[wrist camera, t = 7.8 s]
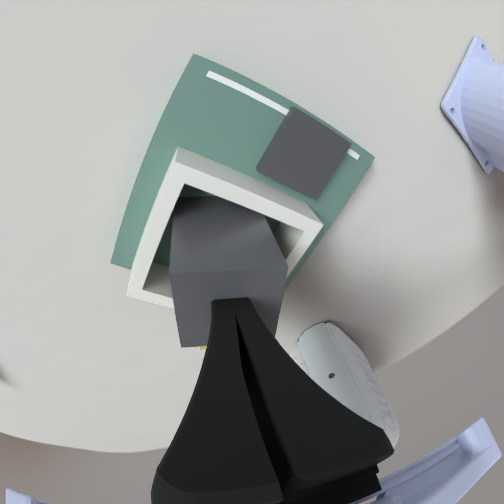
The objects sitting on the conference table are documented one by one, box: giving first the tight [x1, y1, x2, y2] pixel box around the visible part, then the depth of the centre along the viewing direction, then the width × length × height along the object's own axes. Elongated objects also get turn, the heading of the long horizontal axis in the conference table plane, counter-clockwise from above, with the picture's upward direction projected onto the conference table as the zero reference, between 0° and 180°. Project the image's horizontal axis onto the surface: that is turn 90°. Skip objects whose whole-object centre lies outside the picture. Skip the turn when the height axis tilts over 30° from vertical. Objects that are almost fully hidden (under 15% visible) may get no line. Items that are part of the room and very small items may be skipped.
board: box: [111, 54, 375, 309], centre depth 14 cm, size 11×12×4 cm
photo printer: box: [297, 322, 400, 448], centre depth 22 cm, size 10×4×12 cm, turn 39°
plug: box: [169, 196, 288, 349], centre depth 13 cm, size 4×4×6 cm
